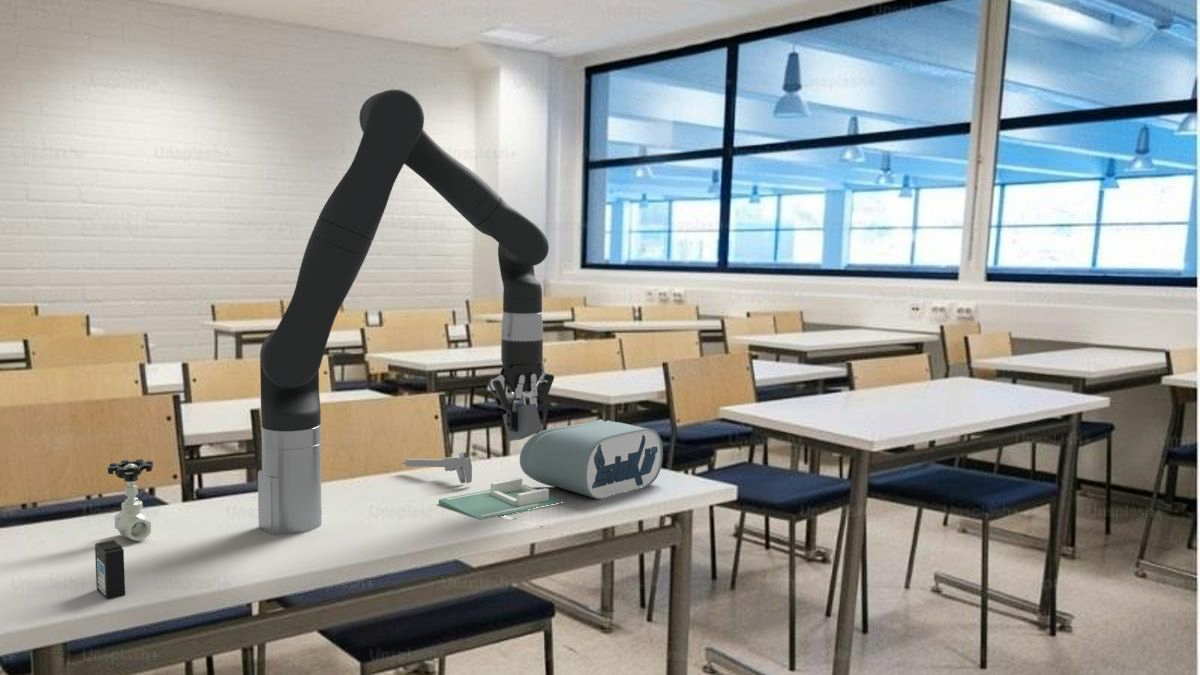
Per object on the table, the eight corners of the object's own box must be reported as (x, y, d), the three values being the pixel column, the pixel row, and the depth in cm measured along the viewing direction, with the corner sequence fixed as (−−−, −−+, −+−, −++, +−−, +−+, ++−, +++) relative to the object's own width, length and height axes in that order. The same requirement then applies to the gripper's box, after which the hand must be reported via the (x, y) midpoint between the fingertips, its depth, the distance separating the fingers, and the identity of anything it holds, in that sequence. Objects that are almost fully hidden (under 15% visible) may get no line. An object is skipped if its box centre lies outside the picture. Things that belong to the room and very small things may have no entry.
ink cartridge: (96, 599, 122) (93, 541, 121) (114, 595, 123) (112, 537, 122) (106, 611, 118) (104, 551, 117) (125, 606, 120) (123, 547, 119)
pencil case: (585, 509, 167) (587, 440, 166) (516, 487, 180) (517, 423, 178) (661, 487, 183) (664, 424, 181) (593, 468, 196) (595, 409, 194)
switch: (522, 405, 164) (501, 416, 170) (528, 432, 163) (507, 442, 169) (535, 403, 166) (514, 414, 172) (542, 430, 165) (520, 439, 171)
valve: (117, 547, 141) (114, 472, 139) (103, 536, 145) (101, 463, 144) (162, 538, 145) (160, 465, 144) (147, 528, 150) (145, 456, 149)
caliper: (471, 484, 179) (472, 453, 179) (467, 485, 178) (468, 454, 178) (405, 464, 192) (406, 434, 191) (401, 465, 191) (401, 435, 190)
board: (480, 526, 156) (480, 507, 155) (438, 505, 166) (438, 488, 166) (563, 507, 167) (564, 490, 167) (519, 489, 178) (520, 473, 177)
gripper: (501, 341, 158) (500, 438, 160) (565, 336, 167) (563, 429, 169) (478, 336, 164) (477, 431, 166) (541, 332, 173) (539, 421, 175)
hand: (521, 429), depth 168 cm, fingers closed on switch, 2 cm apart
